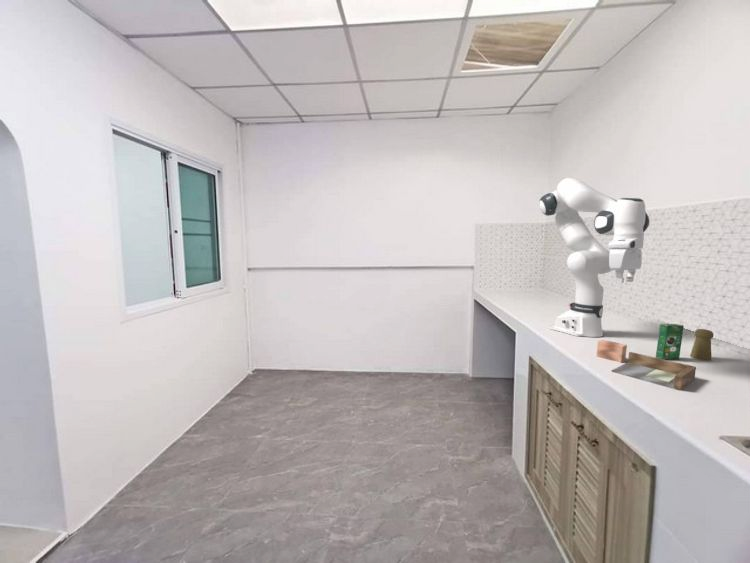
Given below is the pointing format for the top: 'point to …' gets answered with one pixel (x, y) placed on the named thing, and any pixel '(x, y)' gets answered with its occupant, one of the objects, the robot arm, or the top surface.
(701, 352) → the cork
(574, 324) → the robot arm
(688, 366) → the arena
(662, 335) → the coffee box
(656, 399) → the top surface
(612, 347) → the terracotta block
